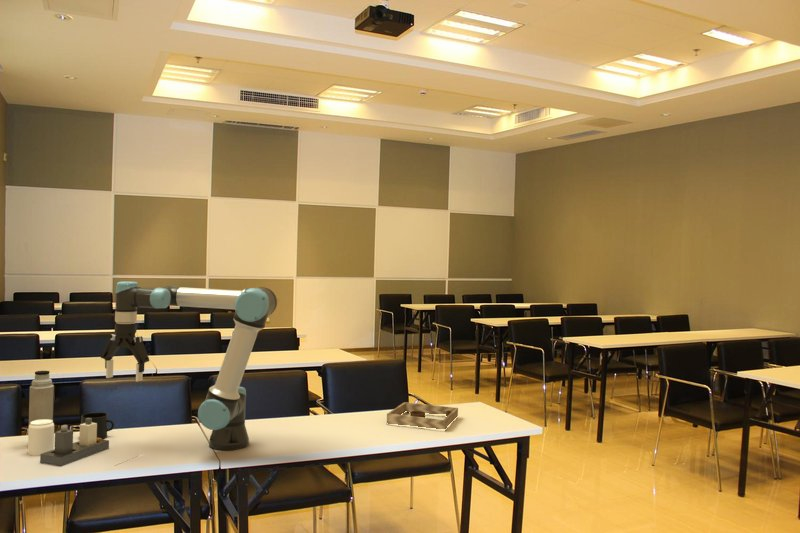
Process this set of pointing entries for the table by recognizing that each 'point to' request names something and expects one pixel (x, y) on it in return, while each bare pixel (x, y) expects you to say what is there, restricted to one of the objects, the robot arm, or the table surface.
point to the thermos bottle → (41, 397)
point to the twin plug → (63, 441)
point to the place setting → (423, 413)
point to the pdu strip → (74, 453)
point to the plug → (88, 433)
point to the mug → (99, 422)
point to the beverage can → (40, 436)
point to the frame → (399, 419)
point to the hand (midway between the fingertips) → (124, 379)
